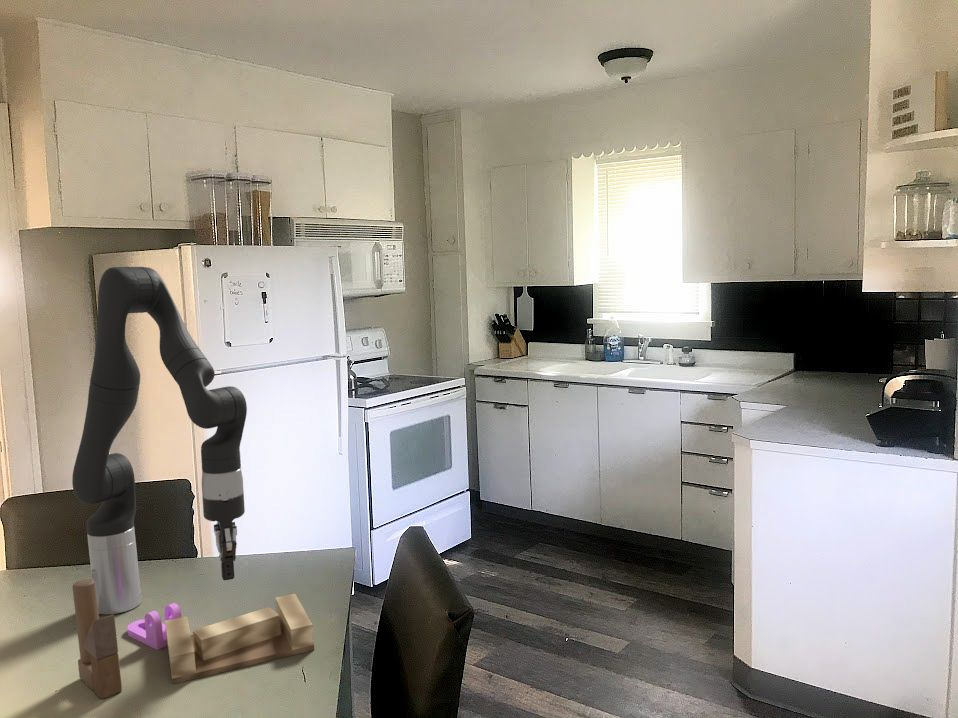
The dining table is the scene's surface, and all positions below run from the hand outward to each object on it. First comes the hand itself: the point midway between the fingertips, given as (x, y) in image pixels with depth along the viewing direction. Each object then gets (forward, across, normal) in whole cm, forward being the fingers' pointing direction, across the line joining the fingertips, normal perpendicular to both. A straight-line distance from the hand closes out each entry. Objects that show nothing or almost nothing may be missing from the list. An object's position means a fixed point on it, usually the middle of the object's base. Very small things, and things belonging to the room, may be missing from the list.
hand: (228, 578), depth 153 cm
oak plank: (+11, +5, +1) cm, 12 cm away
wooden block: (+13, +7, -23) cm, 27 cm away
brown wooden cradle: (+12, +5, +1) cm, 13 cm away
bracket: (+13, -9, -14) cm, 21 cm away
